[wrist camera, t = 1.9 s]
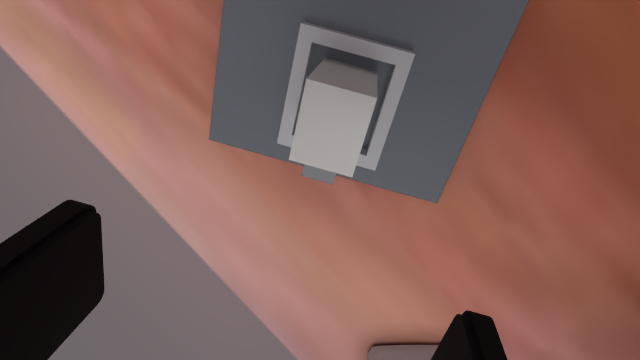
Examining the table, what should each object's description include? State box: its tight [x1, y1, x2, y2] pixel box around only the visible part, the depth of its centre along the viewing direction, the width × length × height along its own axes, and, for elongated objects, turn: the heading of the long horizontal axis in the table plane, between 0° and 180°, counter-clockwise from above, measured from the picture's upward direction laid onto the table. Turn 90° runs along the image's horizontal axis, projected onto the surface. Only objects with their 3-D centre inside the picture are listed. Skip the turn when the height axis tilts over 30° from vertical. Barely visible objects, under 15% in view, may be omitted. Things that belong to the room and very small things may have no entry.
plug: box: [289, 58, 377, 184], centre depth 25 cm, size 4×6×8 cm
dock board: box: [209, 0, 529, 203], centre depth 25 cm, size 20×26×2 cm
